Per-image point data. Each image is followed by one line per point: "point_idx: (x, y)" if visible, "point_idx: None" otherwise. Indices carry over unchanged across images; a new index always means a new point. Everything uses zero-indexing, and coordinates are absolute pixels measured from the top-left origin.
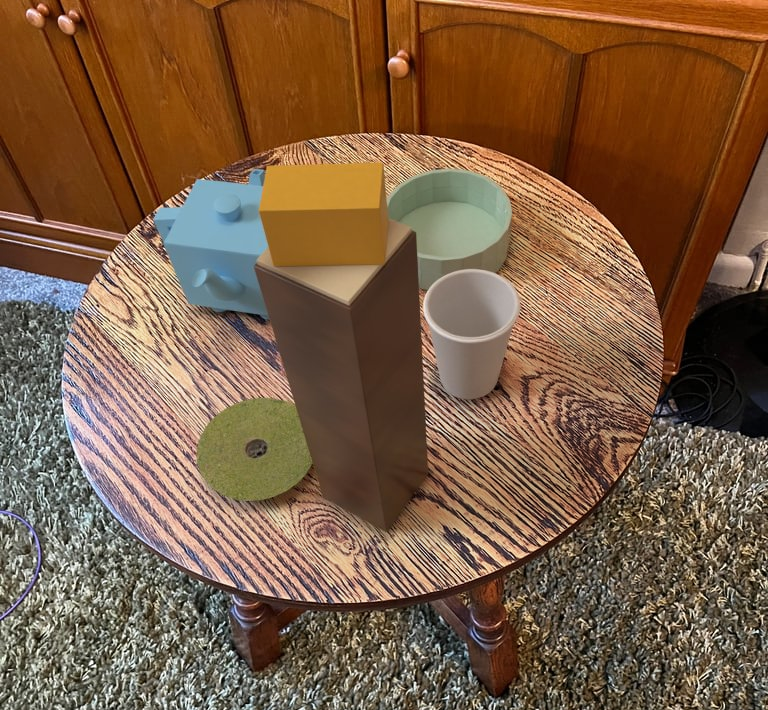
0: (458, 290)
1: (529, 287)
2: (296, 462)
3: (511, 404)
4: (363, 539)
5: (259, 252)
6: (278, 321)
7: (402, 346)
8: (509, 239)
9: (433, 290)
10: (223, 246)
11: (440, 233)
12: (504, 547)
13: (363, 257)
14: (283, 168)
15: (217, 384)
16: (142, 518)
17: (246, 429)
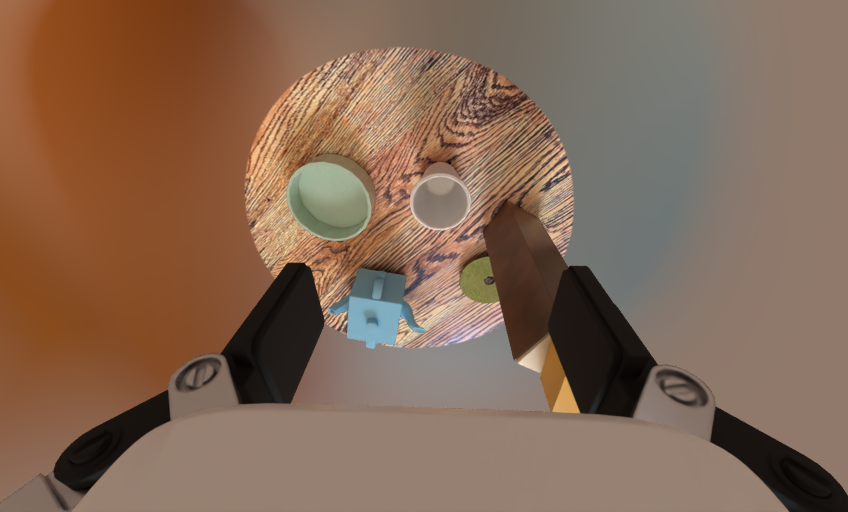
0: (417, 205)
1: (366, 140)
2: None
3: (462, 153)
4: None
5: (399, 308)
6: None
7: (554, 277)
8: (332, 156)
9: (428, 225)
10: (395, 323)
11: (329, 198)
12: (559, 159)
13: None
14: (557, 408)
15: (443, 296)
16: None
17: (478, 285)
